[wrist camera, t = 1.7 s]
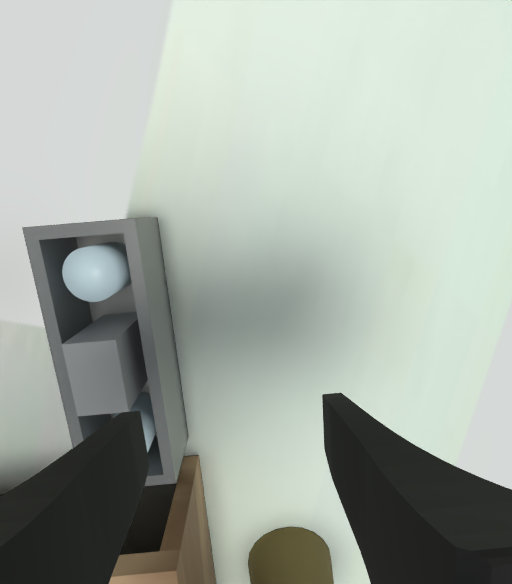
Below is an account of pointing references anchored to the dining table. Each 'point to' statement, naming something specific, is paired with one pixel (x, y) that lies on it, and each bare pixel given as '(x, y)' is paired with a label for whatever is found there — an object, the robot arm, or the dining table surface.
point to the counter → (176, 540)
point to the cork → (290, 558)
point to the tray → (88, 312)
